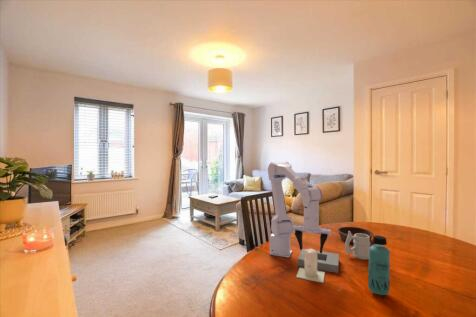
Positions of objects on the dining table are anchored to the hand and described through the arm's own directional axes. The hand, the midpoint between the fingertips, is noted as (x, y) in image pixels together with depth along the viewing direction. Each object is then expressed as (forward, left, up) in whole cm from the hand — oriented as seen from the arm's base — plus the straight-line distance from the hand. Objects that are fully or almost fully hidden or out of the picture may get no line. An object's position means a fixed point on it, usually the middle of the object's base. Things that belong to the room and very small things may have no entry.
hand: (311, 250), depth 97 cm
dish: (+18, +48, -10) cm, 52 cm away
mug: (+18, +25, -10) cm, 32 cm away
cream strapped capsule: (0, -1, -9) cm, 9 cm away
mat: (0, -1, -9) cm, 9 cm away
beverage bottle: (+23, -5, -10) cm, 26 cm away
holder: (+2, +11, -9) cm, 14 cm away
